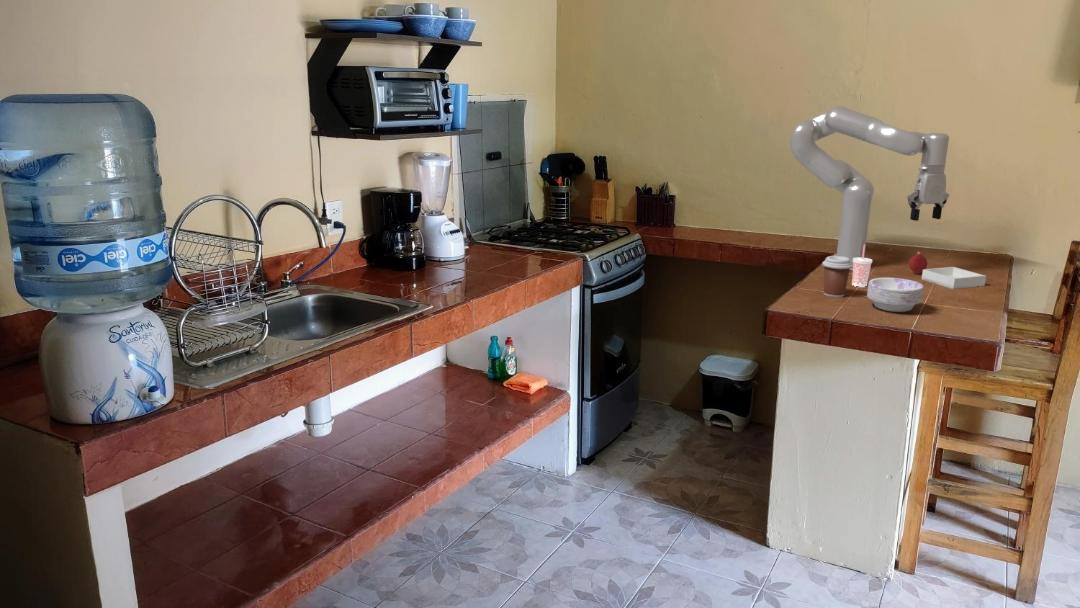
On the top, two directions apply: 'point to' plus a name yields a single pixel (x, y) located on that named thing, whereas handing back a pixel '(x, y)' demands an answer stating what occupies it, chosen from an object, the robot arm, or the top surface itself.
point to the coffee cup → (836, 275)
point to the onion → (918, 263)
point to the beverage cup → (861, 270)
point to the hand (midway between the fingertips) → (925, 219)
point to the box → (953, 277)
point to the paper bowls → (895, 293)
